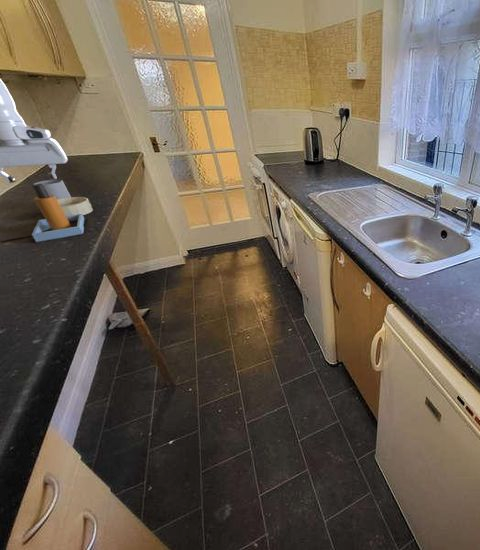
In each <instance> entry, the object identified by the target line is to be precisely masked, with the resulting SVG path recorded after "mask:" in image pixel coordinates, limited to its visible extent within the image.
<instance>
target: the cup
mask: <svg viewBox="0 0 480 550" xmlns="http://www.w3.org/2000/svg"><path fill="white" fill-rule="evenodd" d="M35 184H43V185H44V187H45V189H46V190H47V192H48V194H49V195H54V196H55V197H56V199H62V198H70V197H72V196H71V194H70V192H69V190H68V189H67V186H66V185H65V183H64V181H63V179H48V180H41V181H38V182H34V183H33V185H35Z"/></svg>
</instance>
